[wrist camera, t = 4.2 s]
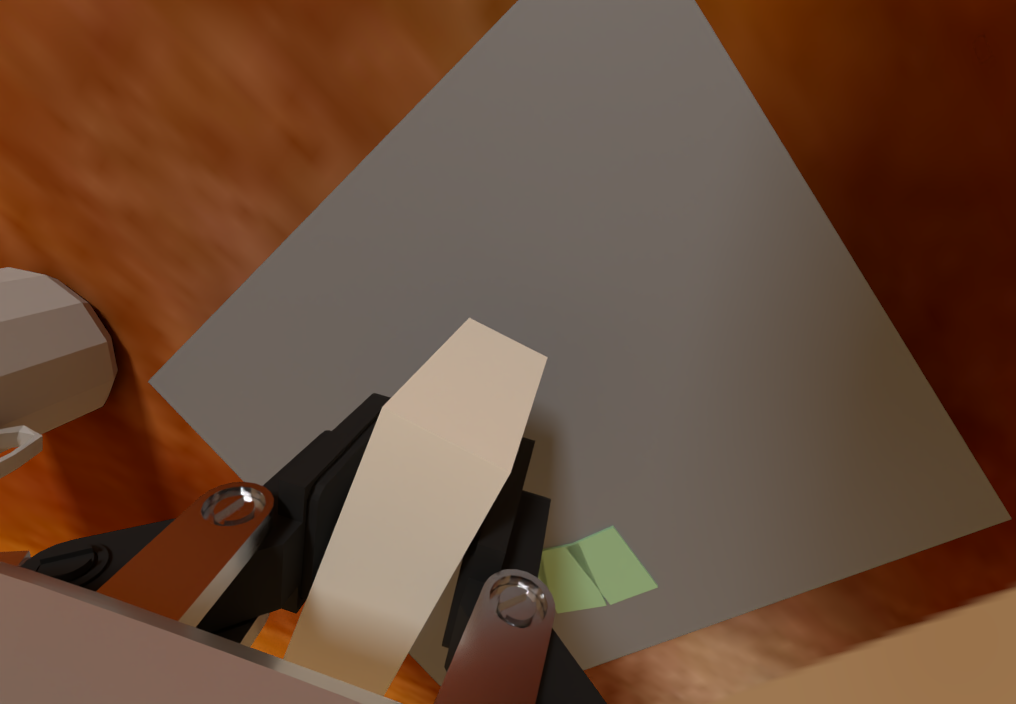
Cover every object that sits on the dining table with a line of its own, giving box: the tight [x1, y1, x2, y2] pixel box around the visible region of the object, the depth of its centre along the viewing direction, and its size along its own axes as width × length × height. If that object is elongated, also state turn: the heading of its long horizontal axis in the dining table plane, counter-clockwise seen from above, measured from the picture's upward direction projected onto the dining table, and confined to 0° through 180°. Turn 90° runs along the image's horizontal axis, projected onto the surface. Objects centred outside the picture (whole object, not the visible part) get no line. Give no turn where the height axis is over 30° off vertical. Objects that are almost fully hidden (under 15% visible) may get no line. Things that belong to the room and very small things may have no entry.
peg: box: [283, 318, 548, 696], centre depth 13 cm, size 12×2×8 cm, turn 155°
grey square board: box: [148, 0, 1012, 686], centre depth 17 cm, size 22×20×3 cm
